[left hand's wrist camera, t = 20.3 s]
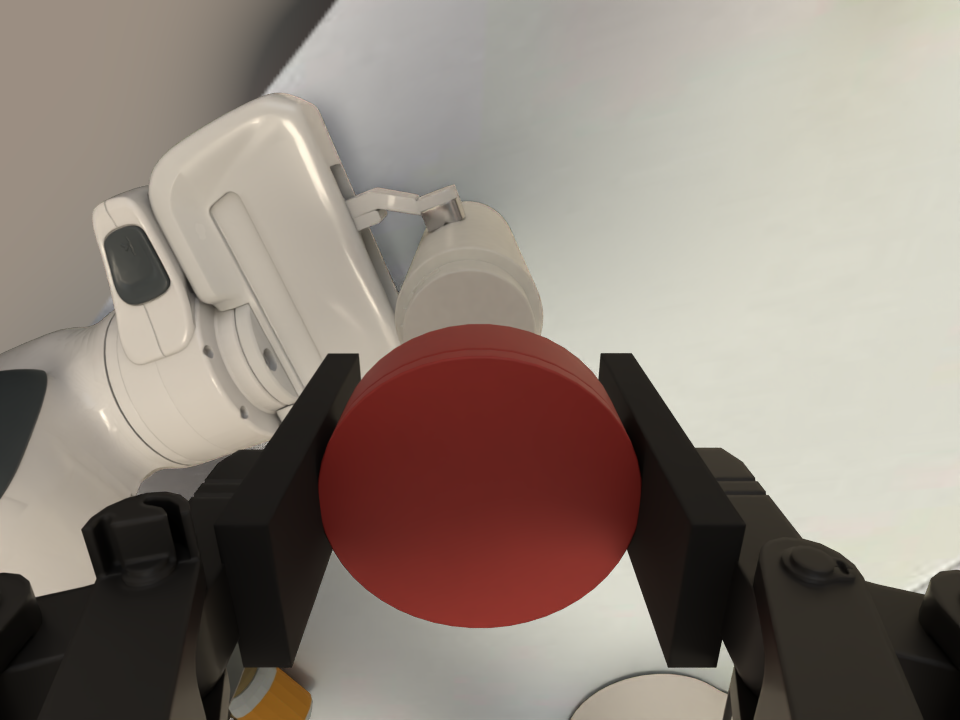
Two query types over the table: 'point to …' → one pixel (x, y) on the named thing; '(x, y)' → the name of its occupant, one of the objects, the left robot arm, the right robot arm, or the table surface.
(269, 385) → the right robot arm
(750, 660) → the left robot arm
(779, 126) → the table surface
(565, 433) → the lid
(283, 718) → the spray gun
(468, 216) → the jar
